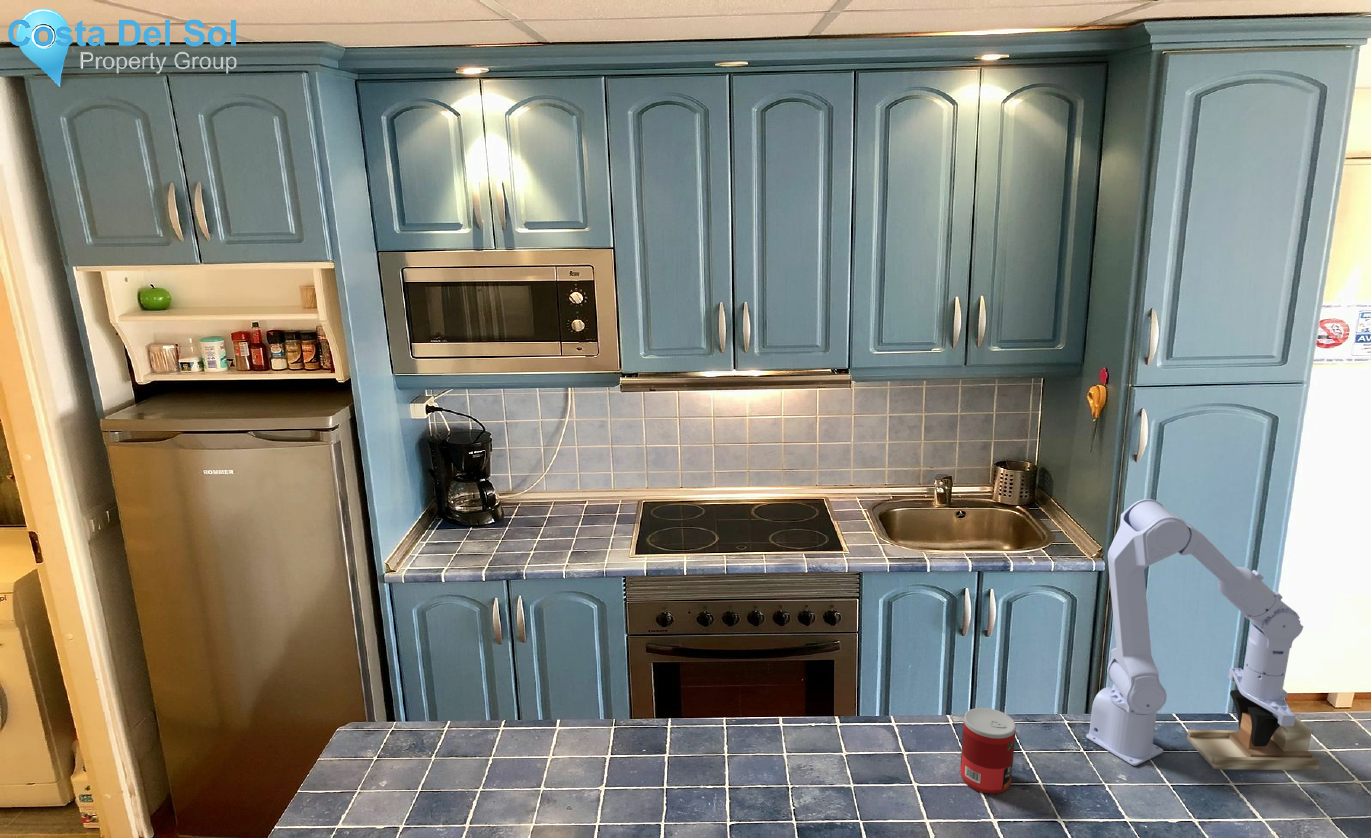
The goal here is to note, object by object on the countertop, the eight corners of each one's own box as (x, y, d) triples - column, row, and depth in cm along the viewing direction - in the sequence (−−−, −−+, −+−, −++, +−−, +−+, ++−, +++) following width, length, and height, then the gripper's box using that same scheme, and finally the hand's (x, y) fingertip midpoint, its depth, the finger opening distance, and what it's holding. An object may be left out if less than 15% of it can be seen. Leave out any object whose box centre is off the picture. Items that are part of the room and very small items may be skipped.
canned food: (1014, 798, 135) (1020, 737, 133) (962, 792, 137) (966, 731, 134) (1006, 767, 143) (1011, 709, 140) (957, 762, 144) (961, 704, 142)
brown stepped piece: (1250, 759, 142) (1255, 728, 141) (1229, 738, 148) (1233, 707, 147) (1311, 760, 142) (1317, 728, 140) (1287, 738, 148) (1293, 707, 146)
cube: (1283, 751, 143) (1287, 730, 142) (1268, 736, 147) (1272, 716, 146) (1308, 751, 143) (1312, 730, 142) (1292, 736, 146) (1296, 716, 145)
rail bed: (1214, 769, 141) (1215, 759, 141) (1186, 738, 150) (1188, 729, 149) (1318, 770, 141) (1320, 760, 140) (1285, 739, 149) (1286, 730, 149)
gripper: (1319, 691, 134) (1305, 766, 137) (1262, 645, 148) (1250, 714, 151) (1274, 691, 134) (1261, 765, 138) (1220, 645, 148) (1210, 714, 152)
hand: (1253, 739), depth 145 cm, fingers closed on brown stepped piece, 3 cm apart
